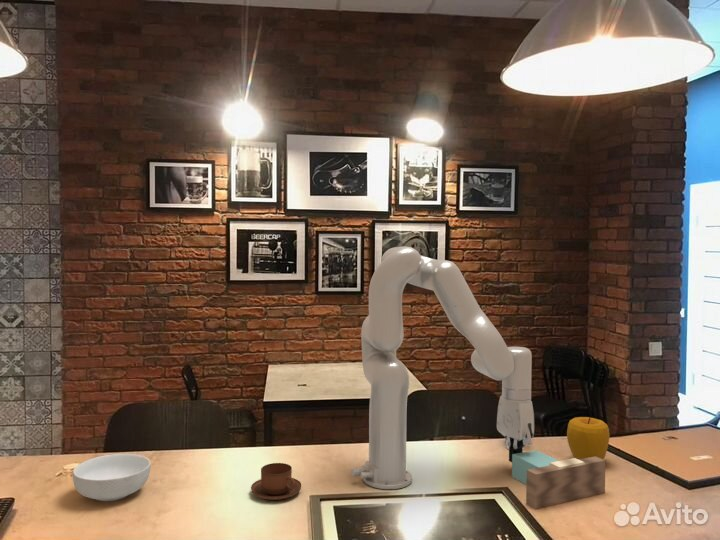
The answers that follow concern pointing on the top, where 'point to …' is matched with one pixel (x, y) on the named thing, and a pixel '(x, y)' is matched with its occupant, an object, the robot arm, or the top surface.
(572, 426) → the apple
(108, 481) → the cereal bowl
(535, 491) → the walnut box
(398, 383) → the robot arm
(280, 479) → the cup and saucer
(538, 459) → the teal block
